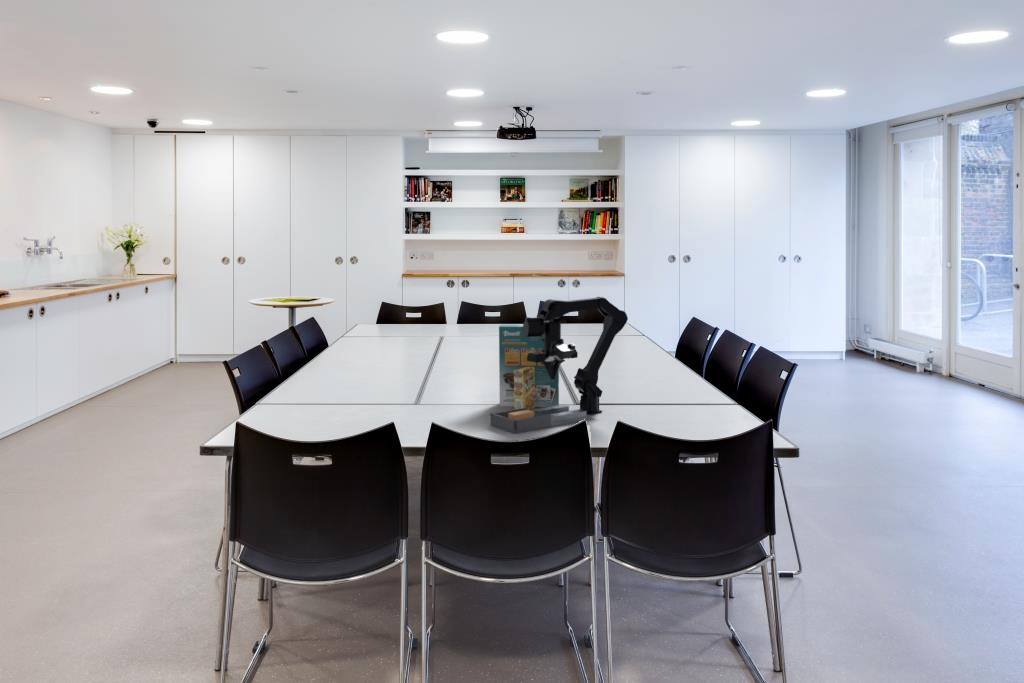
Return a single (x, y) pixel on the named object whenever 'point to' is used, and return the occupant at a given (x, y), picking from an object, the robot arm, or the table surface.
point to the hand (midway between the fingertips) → (552, 379)
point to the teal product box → (515, 357)
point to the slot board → (561, 414)
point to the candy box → (524, 388)
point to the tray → (519, 422)
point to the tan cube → (516, 415)
